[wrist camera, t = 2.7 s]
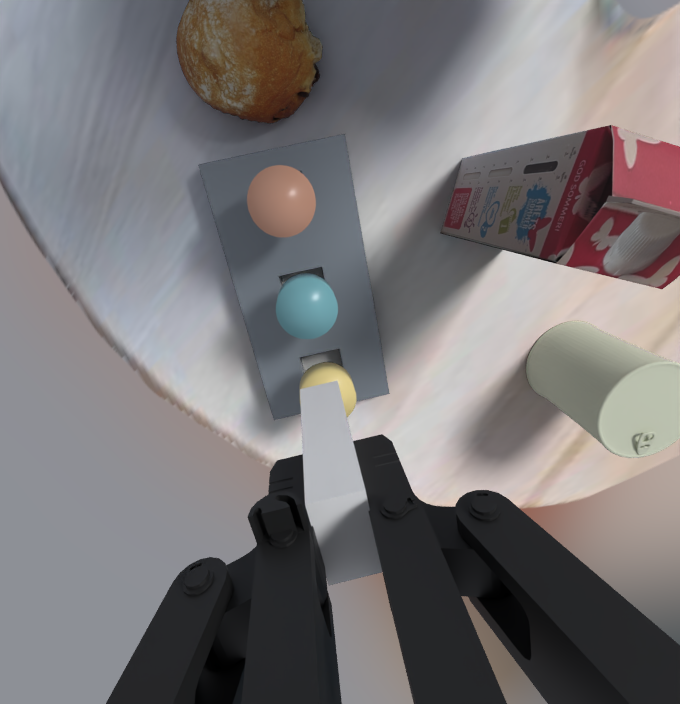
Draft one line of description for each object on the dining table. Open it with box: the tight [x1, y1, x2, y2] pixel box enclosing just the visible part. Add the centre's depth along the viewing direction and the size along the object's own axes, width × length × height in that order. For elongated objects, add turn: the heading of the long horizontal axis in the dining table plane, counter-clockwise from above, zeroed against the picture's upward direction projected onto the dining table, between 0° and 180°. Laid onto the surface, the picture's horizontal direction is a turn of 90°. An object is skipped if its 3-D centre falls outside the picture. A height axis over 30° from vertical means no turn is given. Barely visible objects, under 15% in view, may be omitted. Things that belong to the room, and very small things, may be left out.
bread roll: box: [176, 0, 323, 123], centre depth 31 cm, size 10×10×8 cm
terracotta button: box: [247, 165, 316, 237], centre depth 31 cm, size 5×5×4 cm
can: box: [526, 321, 680, 458], centre depth 40 cm, size 9×9×12 cm
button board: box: [198, 134, 389, 420], centre depth 39 cm, size 24×12×2 cm, turn 11°
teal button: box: [276, 273, 338, 339], centre depth 34 cm, size 5×5×4 cm
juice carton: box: [441, 125, 680, 289], centre depth 28 cm, size 7×7×22 cm
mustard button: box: [299, 362, 356, 417], centre depth 37 cm, size 5×5×4 cm
